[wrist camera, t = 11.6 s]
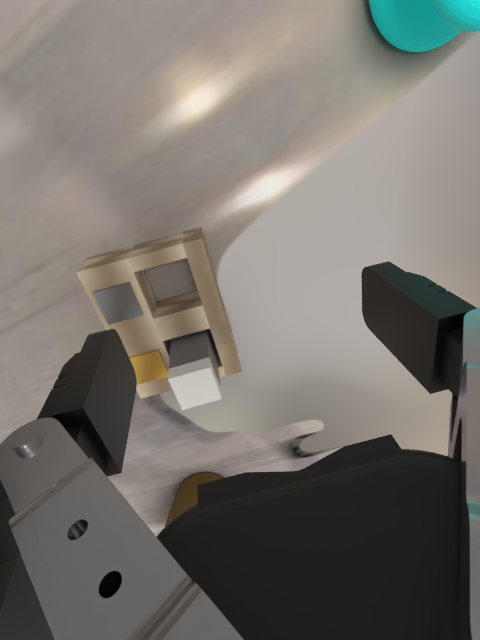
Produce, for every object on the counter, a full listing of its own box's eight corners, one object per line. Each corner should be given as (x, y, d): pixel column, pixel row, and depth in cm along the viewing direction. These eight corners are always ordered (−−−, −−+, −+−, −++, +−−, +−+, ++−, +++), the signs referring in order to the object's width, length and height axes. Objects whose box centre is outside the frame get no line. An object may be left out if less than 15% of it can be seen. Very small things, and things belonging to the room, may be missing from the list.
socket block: (144, 376, 43) (140, 400, 39) (87, 258, 35) (75, 273, 31) (237, 351, 43) (241, 373, 39) (201, 227, 35) (202, 239, 31)
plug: (183, 352, 42) (182, 410, 33) (172, 325, 40) (167, 379, 31) (215, 343, 42) (221, 398, 33) (205, 315, 40) (209, 367, 31)
